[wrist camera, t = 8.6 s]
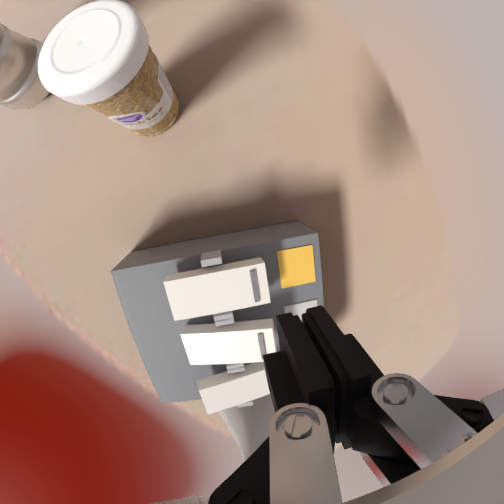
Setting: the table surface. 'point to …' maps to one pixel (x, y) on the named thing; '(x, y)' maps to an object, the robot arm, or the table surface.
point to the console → (168, 331)
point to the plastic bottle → (19, 70)
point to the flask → (249, 424)
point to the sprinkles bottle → (109, 67)
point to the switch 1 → (217, 289)
